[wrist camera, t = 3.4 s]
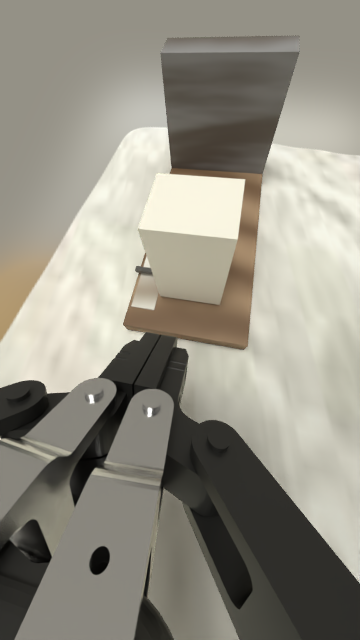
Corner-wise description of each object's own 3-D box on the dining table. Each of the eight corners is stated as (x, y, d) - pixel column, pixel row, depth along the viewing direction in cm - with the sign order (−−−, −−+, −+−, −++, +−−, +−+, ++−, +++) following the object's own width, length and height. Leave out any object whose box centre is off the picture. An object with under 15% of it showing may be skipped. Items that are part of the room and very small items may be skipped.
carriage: (219, 305, 20) (237, 239, 12) (130, 291, 21) (90, 223, 13) (227, 247, 22) (247, 159, 14) (147, 238, 23) (122, 152, 15)
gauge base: (243, 349, 20) (301, 292, 9) (127, 329, 22) (61, 260, 11) (261, 161, 30) (299, 25, 19) (179, 156, 31) (172, 28, 20)
